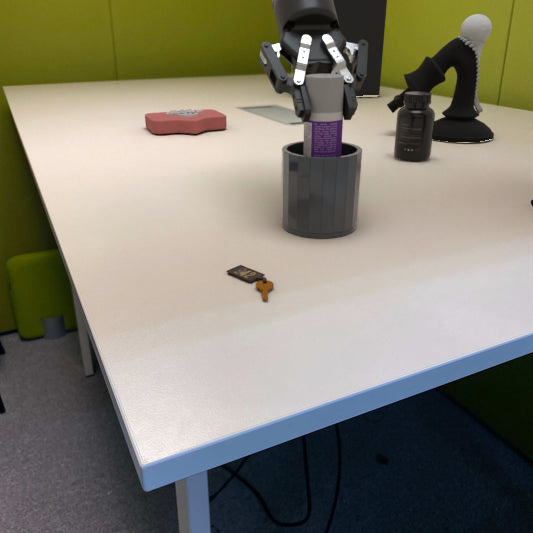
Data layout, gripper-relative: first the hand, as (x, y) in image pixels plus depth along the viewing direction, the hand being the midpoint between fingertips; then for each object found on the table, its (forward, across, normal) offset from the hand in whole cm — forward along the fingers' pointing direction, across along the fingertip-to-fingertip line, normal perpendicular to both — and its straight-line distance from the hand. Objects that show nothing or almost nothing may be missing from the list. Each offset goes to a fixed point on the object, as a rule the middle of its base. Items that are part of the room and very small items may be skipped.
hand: (328, 116), depth 64 cm
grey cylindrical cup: (+9, 0, +11) cm, 14 cm away
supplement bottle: (-13, +28, +34) cm, 46 cm away
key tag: (+19, -12, 0) cm, 23 cm away
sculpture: (-26, +43, +46) cm, 68 cm away
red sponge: (-40, -12, +61) cm, 74 cm away
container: (+6, 0, +9) cm, 11 cm away
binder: (-75, +43, +96) cm, 129 cm away
